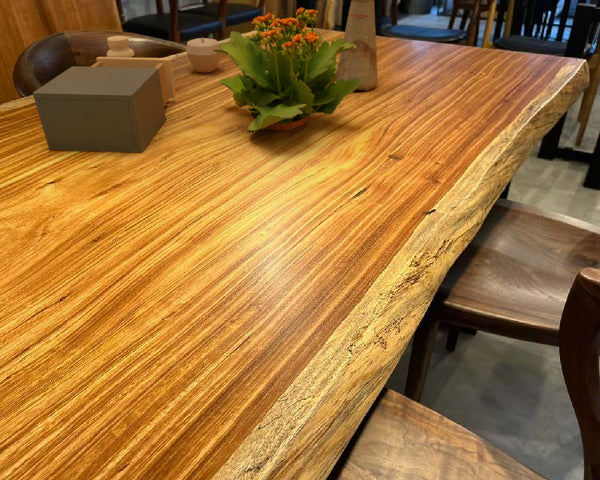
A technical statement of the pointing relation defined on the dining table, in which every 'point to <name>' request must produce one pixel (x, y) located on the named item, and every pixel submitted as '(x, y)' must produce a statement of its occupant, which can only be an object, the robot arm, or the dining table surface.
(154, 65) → the drawer
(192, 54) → the lidded pot
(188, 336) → the dining table surface
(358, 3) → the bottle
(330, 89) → the potted flower
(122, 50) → the pill bottle
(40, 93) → the dark grey box
